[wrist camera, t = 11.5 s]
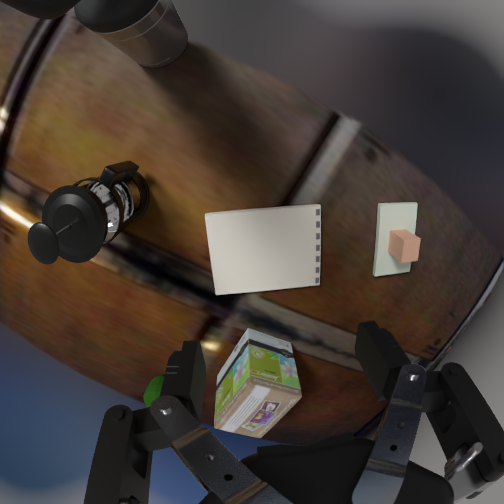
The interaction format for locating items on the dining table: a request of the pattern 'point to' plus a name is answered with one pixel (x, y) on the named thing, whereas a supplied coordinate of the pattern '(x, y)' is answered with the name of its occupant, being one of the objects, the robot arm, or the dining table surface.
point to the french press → (87, 215)
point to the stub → (395, 238)
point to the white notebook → (265, 248)
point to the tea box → (256, 385)
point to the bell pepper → (153, 390)
